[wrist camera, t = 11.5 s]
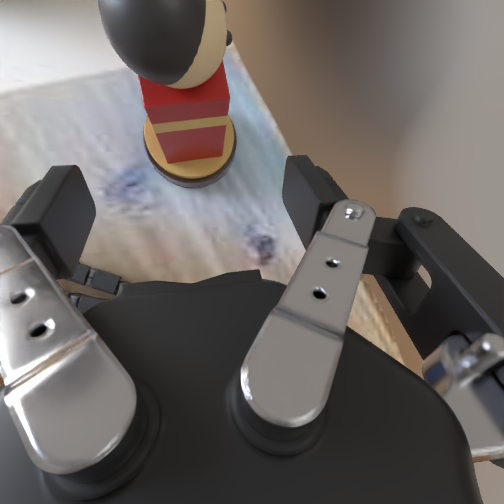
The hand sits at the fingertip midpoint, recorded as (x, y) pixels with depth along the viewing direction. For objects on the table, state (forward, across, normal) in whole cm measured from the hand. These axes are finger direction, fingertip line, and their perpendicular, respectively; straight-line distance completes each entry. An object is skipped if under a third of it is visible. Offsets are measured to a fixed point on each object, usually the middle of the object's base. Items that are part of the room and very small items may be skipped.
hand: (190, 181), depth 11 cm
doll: (+14, 0, +4) cm, 15 cm away
